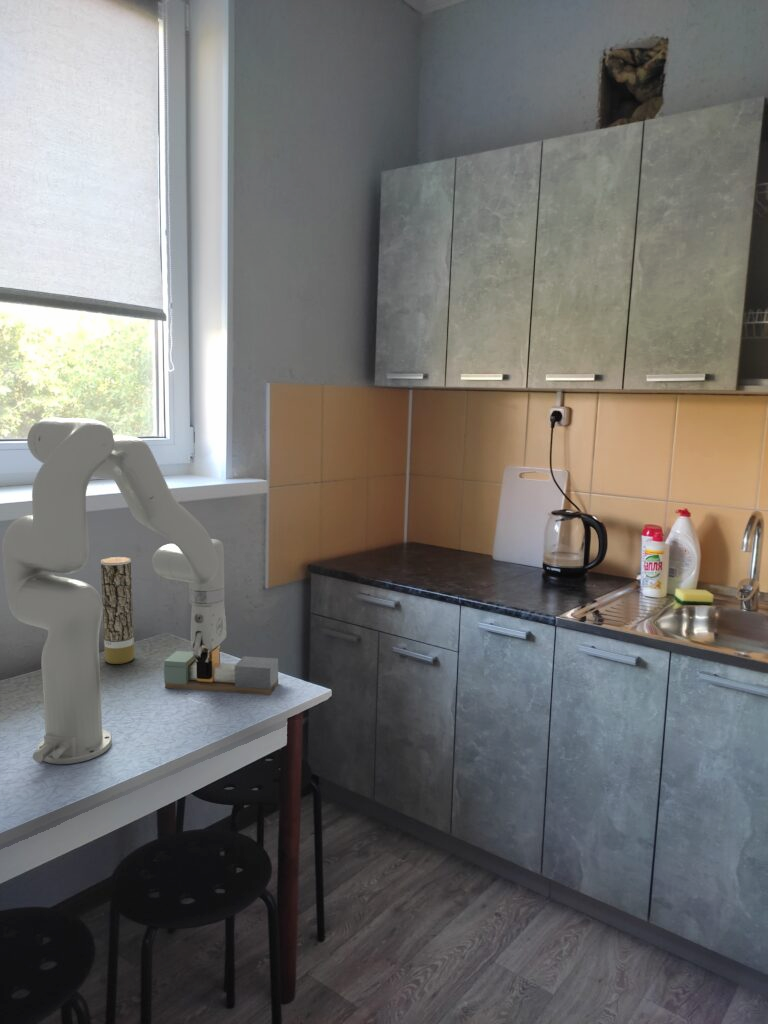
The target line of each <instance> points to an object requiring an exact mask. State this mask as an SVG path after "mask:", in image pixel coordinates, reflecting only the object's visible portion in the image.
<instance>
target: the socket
mask: <svg viewBox="0 0 768 1024" xmlns="http://www.w3.org/2000/svg"><path fill="white" fill-rule="evenodd" d="M163 661H164V666H163V672H164V673H163V675H164V684H165V683H174V684H187V683H188V665H190V664H191V663H192V662H193V661H196V658H195V656H194V655H193V651H181V650H176V651H174V652H173V653H172V654H171V655H170V656H168V657H167V658H166V659H165V660H163Z"/></svg>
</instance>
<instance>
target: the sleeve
mask: <svg viewBox="0 0 768 1024" xmlns="http://www.w3.org/2000/svg"><path fill="white" fill-rule="evenodd" d="M235 664H236V665H235V687H242V688H256V689H271V688H272V687H273V685H274V684H275V683H276V681H277V680H278V681H279V658H273V657H262V656H259V657H257V656H245V655H244V656H242V658H240V660H238V662H237V663H235Z"/></svg>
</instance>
